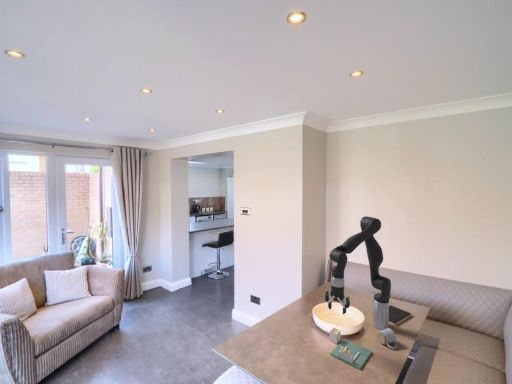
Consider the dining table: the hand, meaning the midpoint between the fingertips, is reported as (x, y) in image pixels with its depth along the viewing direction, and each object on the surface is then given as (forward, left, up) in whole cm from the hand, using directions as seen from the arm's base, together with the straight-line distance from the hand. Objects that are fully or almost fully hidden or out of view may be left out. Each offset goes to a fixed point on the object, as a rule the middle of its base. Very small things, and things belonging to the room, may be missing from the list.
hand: (336, 311), depth 152 cm
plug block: (0, -1, -19) cm, 19 cm away
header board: (+5, +11, -18) cm, 22 cm away
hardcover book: (-56, +16, -19) cm, 62 cm away
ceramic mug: (-19, +23, -19) cm, 36 cm away
